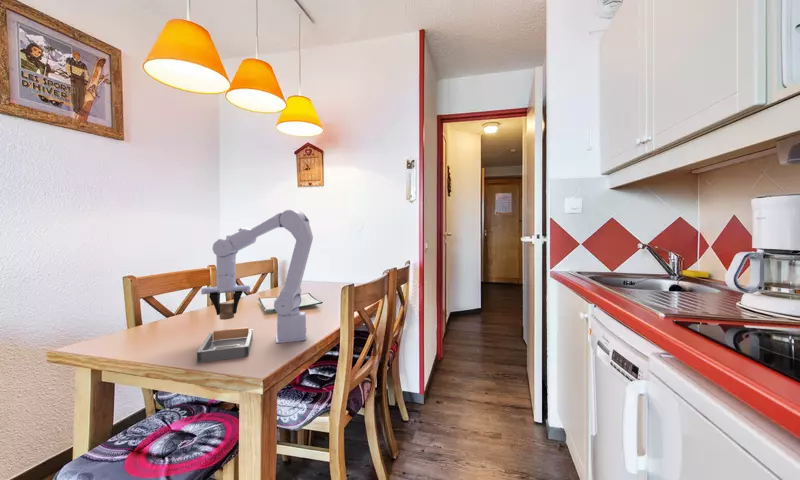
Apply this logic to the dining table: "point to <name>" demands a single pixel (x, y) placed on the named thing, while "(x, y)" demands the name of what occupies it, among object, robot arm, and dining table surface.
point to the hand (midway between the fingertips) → (226, 313)
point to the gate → (230, 333)
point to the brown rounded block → (226, 310)
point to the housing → (224, 348)
